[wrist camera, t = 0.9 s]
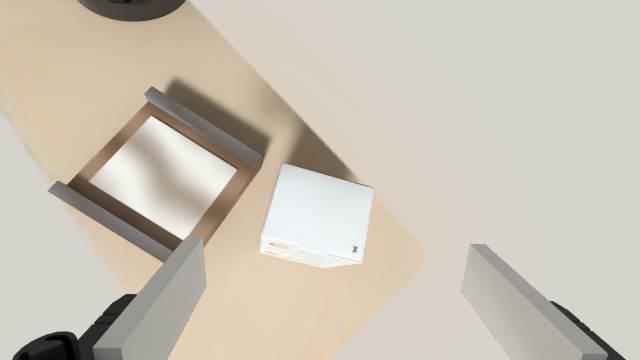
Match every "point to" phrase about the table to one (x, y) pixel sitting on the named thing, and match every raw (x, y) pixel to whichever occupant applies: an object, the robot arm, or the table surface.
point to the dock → (163, 178)
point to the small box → (316, 218)
